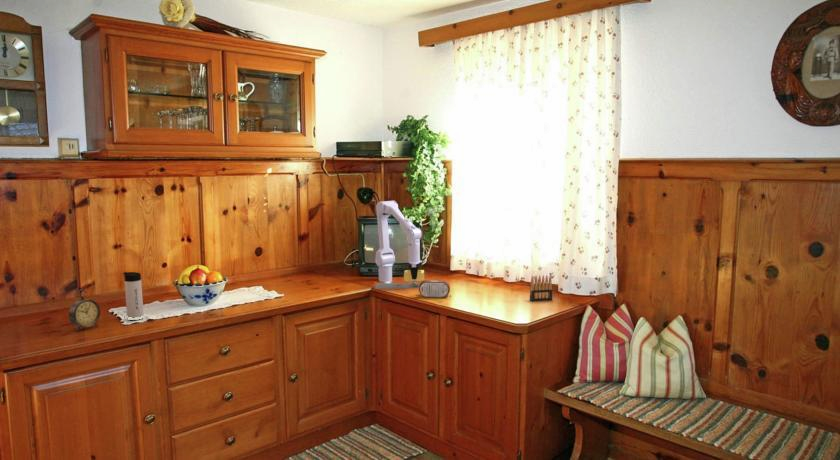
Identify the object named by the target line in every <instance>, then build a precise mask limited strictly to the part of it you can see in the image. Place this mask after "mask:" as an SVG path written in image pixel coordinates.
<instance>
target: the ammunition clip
mask: <svg viewBox="0 0 840 460" xmlns="http://www.w3.org/2000/svg"><path fill="white" fill-rule="evenodd" d="M541 276H542V277H541ZM552 287H553V282H552V275H551V274H549V276H548V275H544V274H543V275H539V276H537V275H535V277H534V275H531V279H530V289H529V302H543V301H545V302H546V301H553V288H552Z"/></svg>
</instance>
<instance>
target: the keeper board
mask: <svg viewBox="0 0 840 460" xmlns="http://www.w3.org/2000/svg"><path fill="white" fill-rule="evenodd" d="M420 283H421V282H420ZM420 283H419V282H417V284H418V286H417V287H412V286H411V284H412V282H409V283H408V282H403V283H402V282H401V283H400V282H393V283H392V282H390V283H389V282H379V283H378V282H377V283H376V284H375V287H374V289H375V290H394V289H395V290H409V289H410V290H412V289H413V290H419V285H420Z"/></svg>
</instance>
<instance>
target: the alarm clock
mask: <svg viewBox="0 0 840 460" xmlns="http://www.w3.org/2000/svg"><path fill="white" fill-rule="evenodd" d="M81 291H84V295H80V292H81ZM86 294H87V291H86V289H84V288H81V289H79V290H78V292H77V295H78V297H80V299H78V300H76V301H74V302H73V303H72V304H71V305H70V307H69V309H68V319H69V320H68V321H69V322H70V323H71V324H72V325H73V326H75V327H76V331H78V332H79V330H80V328H81V327H82V328H90V327H92V326H94V325H95V326H96V325H98V323H97V322H98V321H99V319H100V316H101V307H100V305H99V304H98V302H97V301H95V300H93V299H89V298H87V299H86V298H84V297H85V296H86Z"/></svg>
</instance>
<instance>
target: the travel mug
mask: <svg viewBox="0 0 840 460" xmlns="http://www.w3.org/2000/svg"><path fill="white" fill-rule="evenodd" d="M122 275H124V276H123V277H124V293H125V306H126V307H125V308H126V317H127V316H128V317H132V318H135V317H141V316H143V315H144V303H143V301H144V300H143V288H142V287H143V286H142V275H141V272H135V271H133V272H132V271H130V272H128V271H126V272H123V273H122Z"/></svg>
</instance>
